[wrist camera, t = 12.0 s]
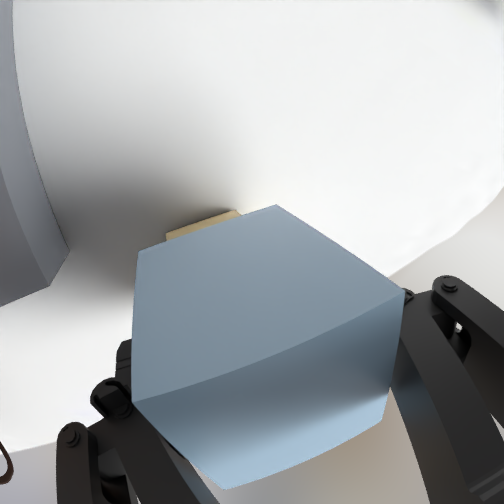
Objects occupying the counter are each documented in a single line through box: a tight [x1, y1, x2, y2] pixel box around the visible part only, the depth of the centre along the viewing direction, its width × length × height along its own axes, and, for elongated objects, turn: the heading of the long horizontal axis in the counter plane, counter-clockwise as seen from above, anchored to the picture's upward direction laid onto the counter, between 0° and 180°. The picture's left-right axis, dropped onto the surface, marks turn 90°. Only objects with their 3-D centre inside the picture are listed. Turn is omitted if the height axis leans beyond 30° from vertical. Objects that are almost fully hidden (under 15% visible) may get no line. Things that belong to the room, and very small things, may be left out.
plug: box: [131, 205, 405, 490], centre depth 12 cm, size 6×6×12 cm
